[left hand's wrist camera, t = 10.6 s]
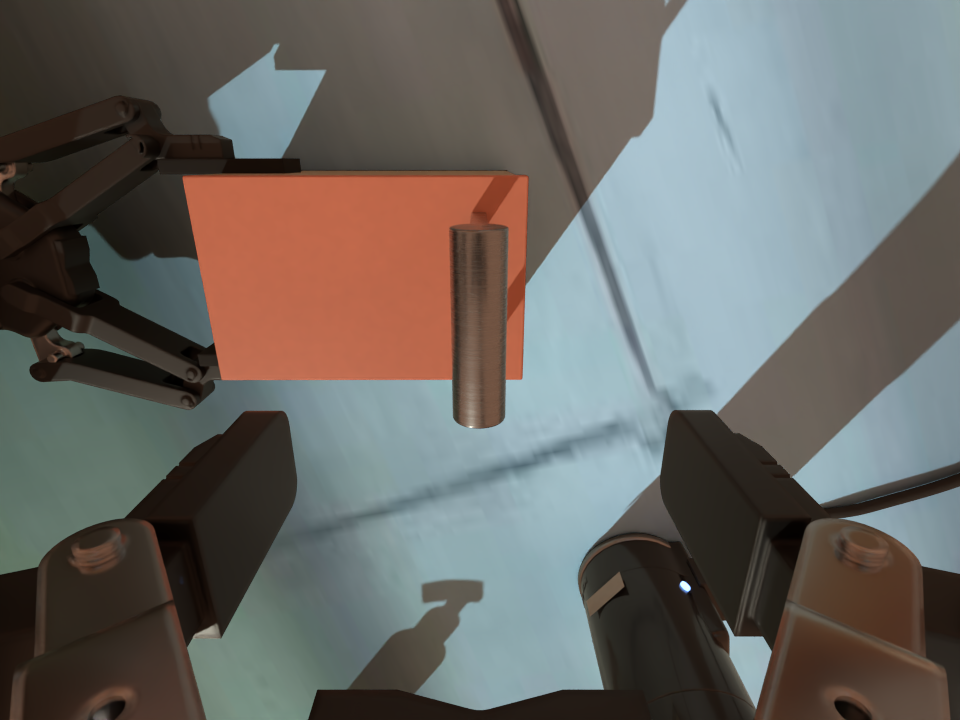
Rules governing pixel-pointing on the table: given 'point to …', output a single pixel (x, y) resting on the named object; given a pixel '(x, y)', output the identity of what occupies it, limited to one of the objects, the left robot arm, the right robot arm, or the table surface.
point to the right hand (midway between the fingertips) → (304, 265)
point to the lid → (367, 279)
